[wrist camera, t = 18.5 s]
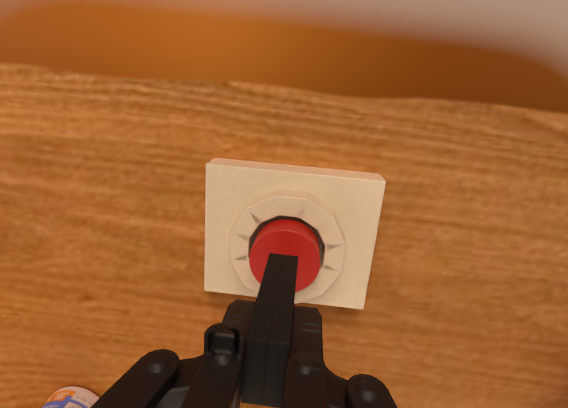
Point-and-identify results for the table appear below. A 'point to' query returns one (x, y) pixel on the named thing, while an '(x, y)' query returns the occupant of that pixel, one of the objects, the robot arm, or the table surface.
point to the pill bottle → (71, 398)
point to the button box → (296, 206)
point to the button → (287, 249)
